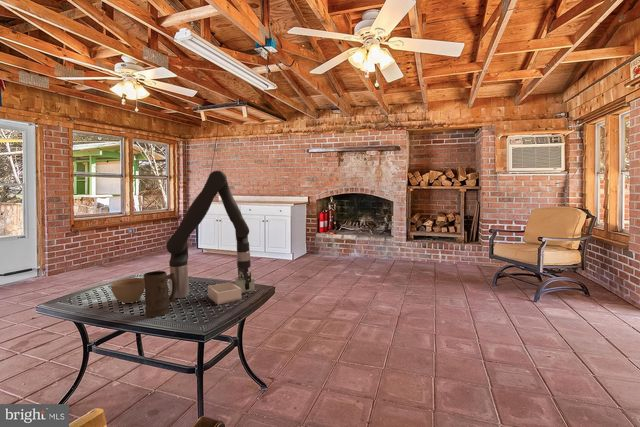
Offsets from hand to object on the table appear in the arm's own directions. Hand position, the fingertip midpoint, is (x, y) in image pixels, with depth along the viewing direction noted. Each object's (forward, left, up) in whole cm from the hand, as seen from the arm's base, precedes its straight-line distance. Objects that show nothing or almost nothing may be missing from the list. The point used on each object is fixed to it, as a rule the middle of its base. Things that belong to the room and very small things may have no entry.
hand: (244, 287), depth 200 cm
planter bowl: (-56, +21, -2) cm, 60 cm away
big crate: (-14, -6, -1) cm, 15 cm away
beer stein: (-45, -6, -2) cm, 45 cm away
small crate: (0, 0, -1) cm, 1 cm away
